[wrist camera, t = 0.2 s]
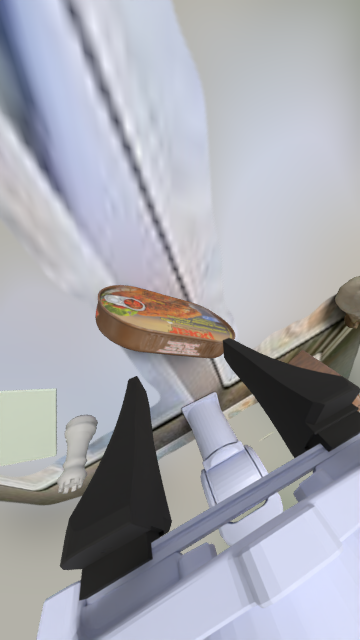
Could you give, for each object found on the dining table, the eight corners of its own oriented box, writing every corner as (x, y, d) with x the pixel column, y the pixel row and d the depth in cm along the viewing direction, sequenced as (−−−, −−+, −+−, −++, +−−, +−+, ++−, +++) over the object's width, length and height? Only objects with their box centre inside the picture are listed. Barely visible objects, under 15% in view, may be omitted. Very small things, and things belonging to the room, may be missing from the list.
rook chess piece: (81, 410, 25) (67, 476, 18) (104, 418, 27) (99, 478, 21) (59, 426, 25) (38, 497, 18) (84, 433, 28) (73, 498, 21)
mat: (56, 388, 22) (55, 390, 21) (56, 453, 28) (56, 455, 27) (-86, 394, 17) (-89, 397, 16) (-47, 472, 23) (-49, 475, 22)
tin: (214, 308, 24) (253, 342, 17) (205, 326, 25) (238, 365, 18) (103, 277, 17) (92, 311, 10) (97, 303, 18) (84, 350, 11)
